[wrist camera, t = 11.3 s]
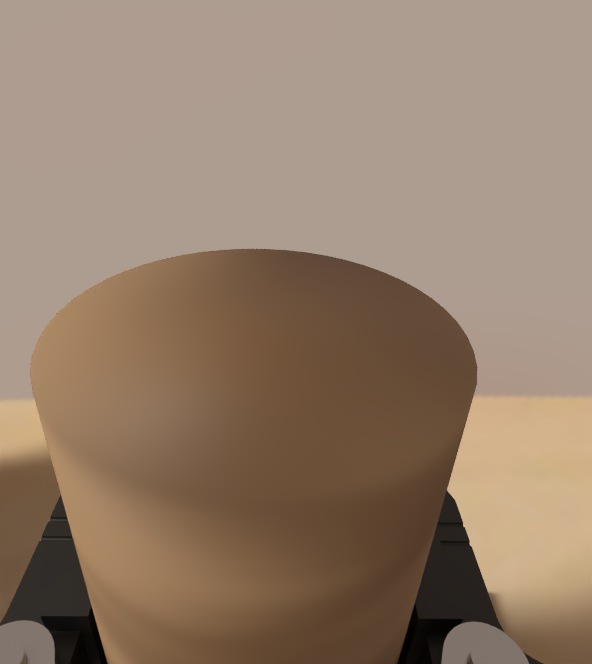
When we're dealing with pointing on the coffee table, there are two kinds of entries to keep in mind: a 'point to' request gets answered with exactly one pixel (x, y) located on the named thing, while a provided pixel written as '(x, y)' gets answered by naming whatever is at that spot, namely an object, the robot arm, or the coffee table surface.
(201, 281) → the walnut peg
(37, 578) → the robot arm
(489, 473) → the coffee table surface
